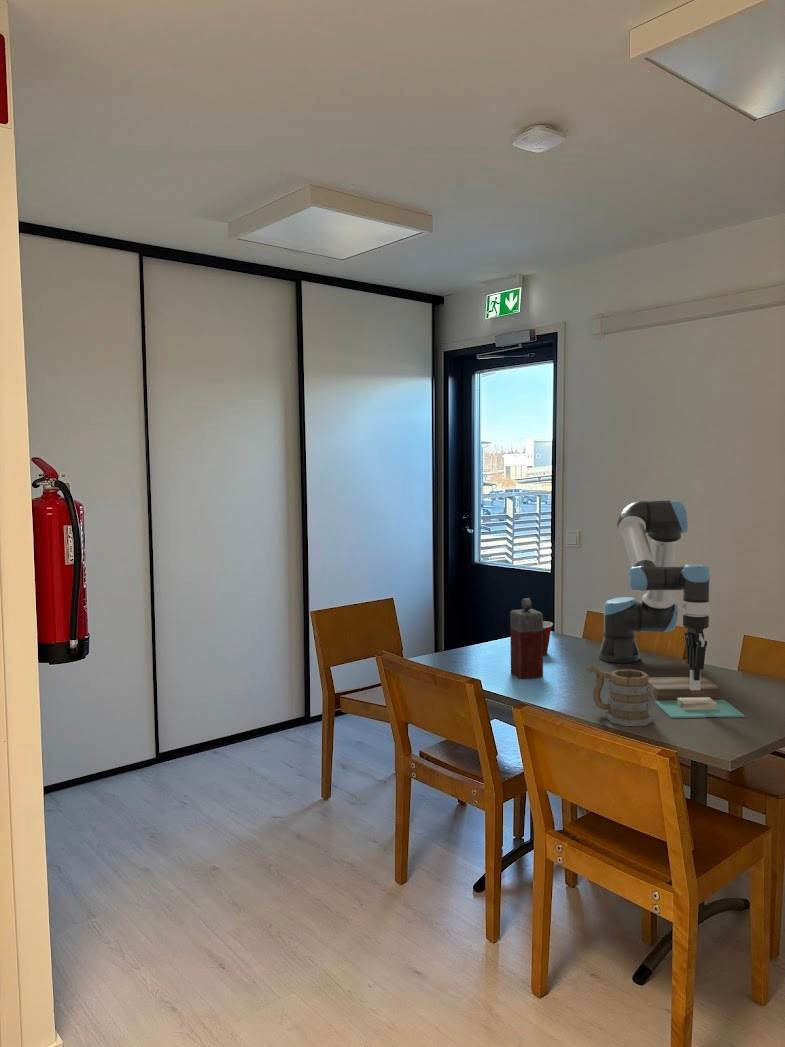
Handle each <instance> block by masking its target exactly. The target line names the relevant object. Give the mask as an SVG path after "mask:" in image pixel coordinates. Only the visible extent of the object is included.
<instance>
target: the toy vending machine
mask: <svg viewBox="0 0 785 1047" xmlns="http://www.w3.org/2000/svg"><path fill="white" fill-rule="evenodd" d="M520 602H521V608H522V609H512V610H510V613H509V614H510V616H509V618H510V622H509V623H510V625H509V626H510V627H509V629H510V631H509V632H510V674H511V675H512V676H514V677H515V678H517V679H518V680H520V679H522V680H531V679H532V678H533V679H541V678H540V677H543V678H544V657H547V656H548V651H547V633H546V630H545V628H543V621H544V615H543V613H542V612H541V611H538V610H536V609H534V608H532V600H531V598H529V597H527V598H522V599H521V601H520Z"/></svg>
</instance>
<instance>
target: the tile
mask: <svg viewBox="0 0 785 1047" xmlns="http://www.w3.org/2000/svg"><path fill="white" fill-rule="evenodd" d="M677 704H678V705H679V706H680V707H681V708H682V709H683V710H716V709H717V703H716V702H715V701H713V700H712V699H711V698H710V697H699V698H677Z"/></svg>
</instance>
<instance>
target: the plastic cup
mask: <svg viewBox="0 0 785 1047" xmlns="http://www.w3.org/2000/svg"><path fill="white" fill-rule="evenodd" d="M553 625H554V623H553V622H551V621H547V620H546V621H545V620H543V628H545V630H546V633H547V652H548V650H549V644H550V639H551V632H552V627H553Z"/></svg>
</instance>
